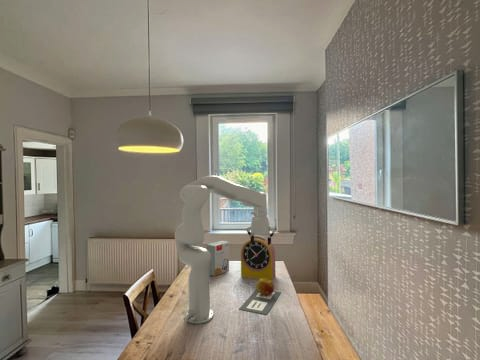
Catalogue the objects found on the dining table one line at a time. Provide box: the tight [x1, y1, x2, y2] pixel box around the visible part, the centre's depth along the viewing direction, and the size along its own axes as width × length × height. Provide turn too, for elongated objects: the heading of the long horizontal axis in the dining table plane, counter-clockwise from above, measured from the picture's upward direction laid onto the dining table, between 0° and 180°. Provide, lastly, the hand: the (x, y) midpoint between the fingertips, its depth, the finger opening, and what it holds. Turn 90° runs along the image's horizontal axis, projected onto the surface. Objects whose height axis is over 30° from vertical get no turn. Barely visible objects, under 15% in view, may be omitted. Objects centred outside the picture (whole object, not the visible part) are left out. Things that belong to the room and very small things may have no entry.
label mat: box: [238, 288, 282, 316], centre depth 134 cm, size 26×14×1 cm, turn 157°
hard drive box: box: [206, 240, 230, 277], centre depth 177 cm, size 16×8×20 cm, turn 143°
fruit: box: [256, 278, 275, 295], centre depth 140 cm, size 10×9×8 cm
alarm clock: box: [240, 234, 277, 282], centre depth 168 cm, size 21×9×26 cm, turn 67°
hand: (260, 243), depth 148 cm, fingers open, 9 cm apart
